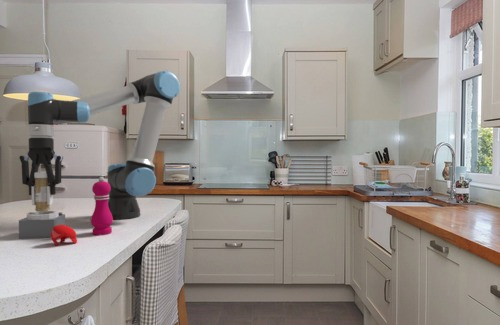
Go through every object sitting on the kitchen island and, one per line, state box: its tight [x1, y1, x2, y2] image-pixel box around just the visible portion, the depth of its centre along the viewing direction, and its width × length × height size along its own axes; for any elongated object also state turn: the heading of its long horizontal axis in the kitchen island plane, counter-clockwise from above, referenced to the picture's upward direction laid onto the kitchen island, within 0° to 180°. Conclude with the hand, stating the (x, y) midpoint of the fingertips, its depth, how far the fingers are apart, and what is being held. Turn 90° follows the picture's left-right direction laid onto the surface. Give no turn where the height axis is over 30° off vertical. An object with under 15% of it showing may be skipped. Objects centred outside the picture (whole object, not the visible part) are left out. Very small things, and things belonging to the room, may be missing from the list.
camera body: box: [18, 210, 66, 239], centre depth 125 cm, size 11×10×8 cm
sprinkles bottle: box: [34, 171, 51, 212], centre depth 125 cm, size 5×5×13 cm
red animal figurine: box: [50, 224, 78, 247], centre depth 113 cm, size 8×6×6 cm
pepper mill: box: [90, 176, 114, 236], centre depth 126 cm, size 7×7×20 cm
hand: (42, 204), depth 125 cm, fingers closed on sprinkles bottle, 4 cm apart
